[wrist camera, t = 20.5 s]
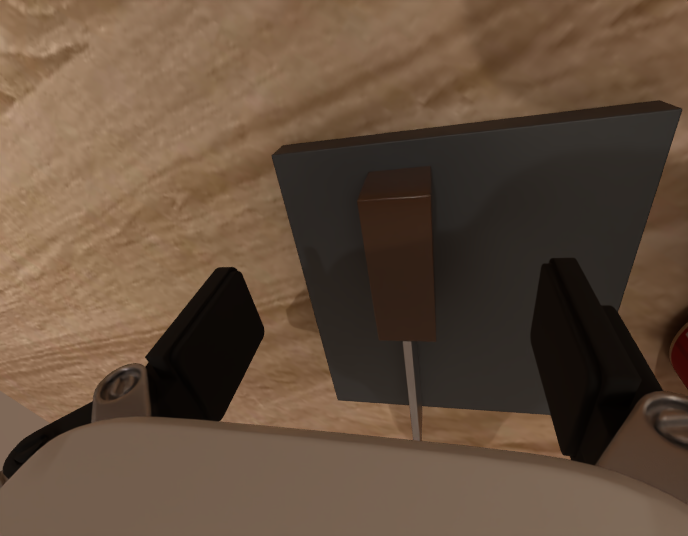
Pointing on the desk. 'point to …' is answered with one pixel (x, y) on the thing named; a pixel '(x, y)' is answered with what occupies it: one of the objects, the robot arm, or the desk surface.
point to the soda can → (680, 354)
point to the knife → (401, 265)
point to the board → (476, 241)
